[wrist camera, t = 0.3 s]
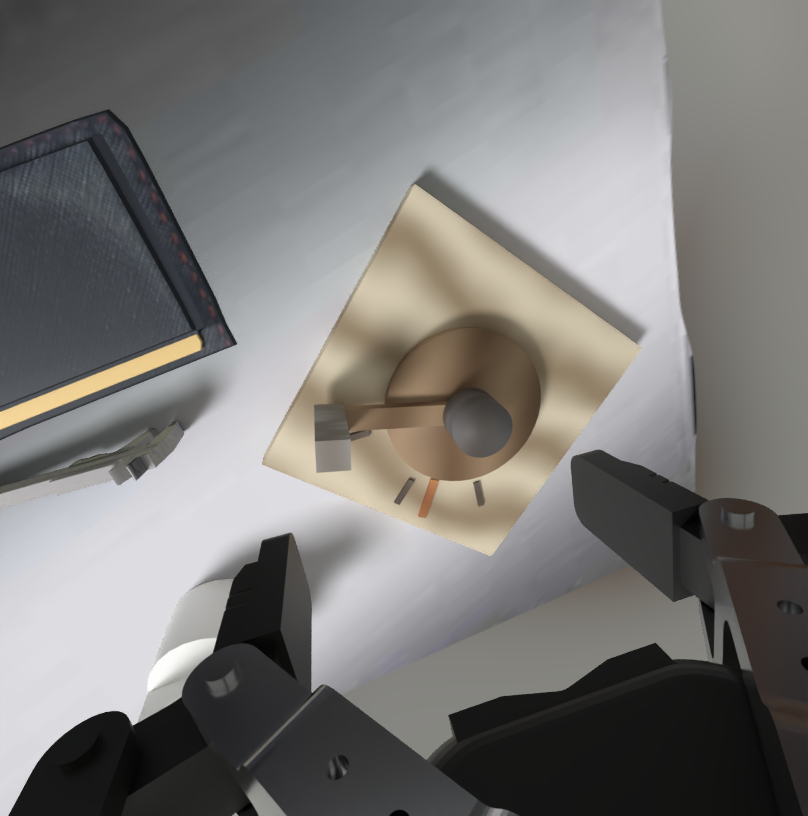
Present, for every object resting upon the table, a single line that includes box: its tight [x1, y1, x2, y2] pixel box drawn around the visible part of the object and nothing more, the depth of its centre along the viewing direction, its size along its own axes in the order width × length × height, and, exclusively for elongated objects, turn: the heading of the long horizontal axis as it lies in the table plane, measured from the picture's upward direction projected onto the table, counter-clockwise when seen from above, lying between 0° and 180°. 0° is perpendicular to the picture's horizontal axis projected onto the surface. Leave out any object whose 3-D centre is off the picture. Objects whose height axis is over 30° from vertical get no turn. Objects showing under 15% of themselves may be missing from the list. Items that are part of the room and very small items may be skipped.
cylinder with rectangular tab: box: [138, 579, 234, 722], centre depth 33 cm, size 9×9×12 cm
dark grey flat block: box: [0, 110, 236, 440], centre depth 27 cm, size 20×2×15 cm
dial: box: [314, 327, 541, 481], centre depth 30 cm, size 17×12×7 cm
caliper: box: [0, 422, 184, 509], centre depth 28 cm, size 21×1×6 cm, turn 107°
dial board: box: [262, 184, 642, 556], centre depth 34 cm, size 22×22×2 cm
